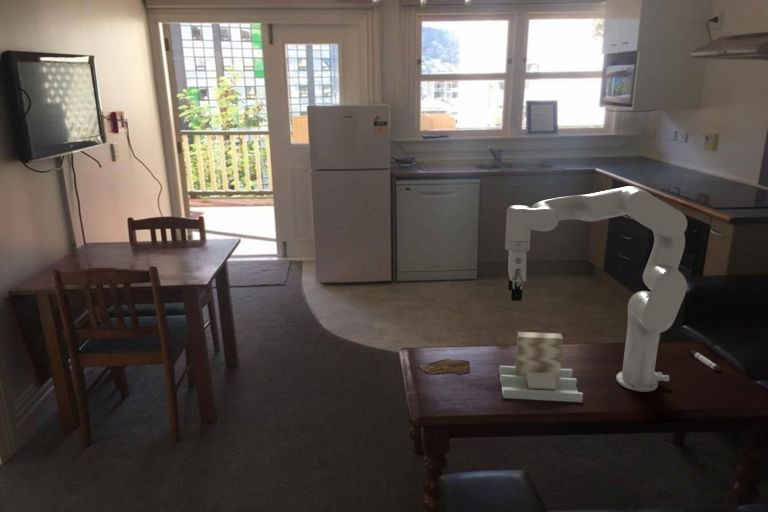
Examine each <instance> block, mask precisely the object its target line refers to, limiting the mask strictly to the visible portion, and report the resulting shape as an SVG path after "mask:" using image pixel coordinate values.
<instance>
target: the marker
mask: <svg viewBox="0 0 768 512" xmlns="http://www.w3.org/2000/svg"><path fill="white" fill-rule="evenodd" d="M689 351H690V352H689V353H690V354H691V355H692V356H693V358H696V359H697V360H698V361H700V362H702V363H703V364H704V365H706V366H707V367H709V368H710V369H712V370H713V371H715V372H716V373H717V372H721V371H722V368H721V366H719V365H717V364H716V363H714V362H713V361H711V360H710V359H709V358H707V357H705V356H704V355H702V354H701V353H700V352H698V351H696V350H691V349H689Z"/></svg>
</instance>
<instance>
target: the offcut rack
mask: <svg viewBox="0 0 768 512" xmlns="http://www.w3.org/2000/svg"><path fill="white" fill-rule="evenodd" d="M498 369H499V371H498V373H499V374H498V375H499V379H500V384H501V389H502V390H501V391H502V397H503V398H504V399H515V400H516V399H517V400H518V399H519V400H537V401H550V402H551V401H555V402H556V401H557V402H568V403H569V402H572V403H583V396H584V393H583V392H580V391H578V388H577V383H578V382H577V381H578V379H577V378H575V377H573V368H561V369H560V378H558V377H554V379H555V382H556V385H555V391H546V390H528V389H527V387H526V381H527V376H519V375H515V365H499V368H498Z"/></svg>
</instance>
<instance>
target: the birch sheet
mask: <svg viewBox="0 0 768 512" xmlns="http://www.w3.org/2000/svg"><path fill="white" fill-rule="evenodd" d="M563 344H564V337H563V336H562V333H553V332H551V333H550V332H532V331H531V332H530V331H529V332H528V331H517V333H516V350H515V364H514V366H515V375H519V376H527V372H540V373H553V376H554V377H558V378H560V369H562V368H561V367H562V358H563V357H562V355H563Z"/></svg>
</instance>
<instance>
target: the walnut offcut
mask: <svg viewBox="0 0 768 512" xmlns="http://www.w3.org/2000/svg"><path fill="white" fill-rule="evenodd" d="M526 387H527V389H528V390H546V391H555V389H538V388H529V386H528V382H527V381H526Z"/></svg>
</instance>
